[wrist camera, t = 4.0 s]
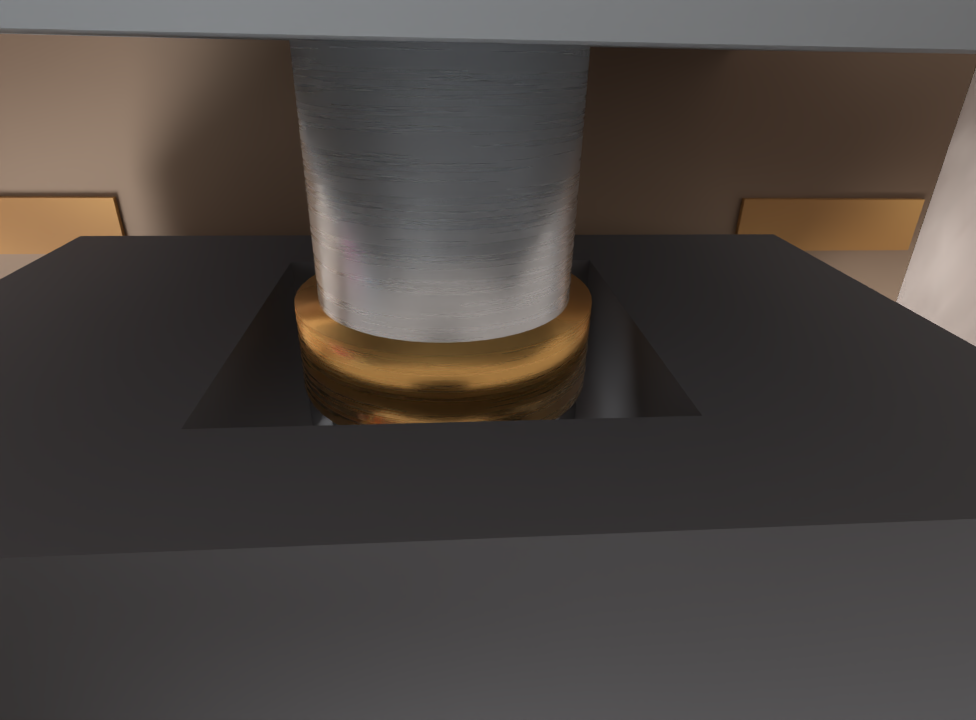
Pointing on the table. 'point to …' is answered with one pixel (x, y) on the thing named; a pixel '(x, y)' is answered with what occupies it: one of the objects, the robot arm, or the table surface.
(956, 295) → the table surface
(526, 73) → the steel pipe
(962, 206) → the table surface
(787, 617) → the dark gray block
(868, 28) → the block
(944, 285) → the table surface
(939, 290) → the table surface
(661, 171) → the base board
